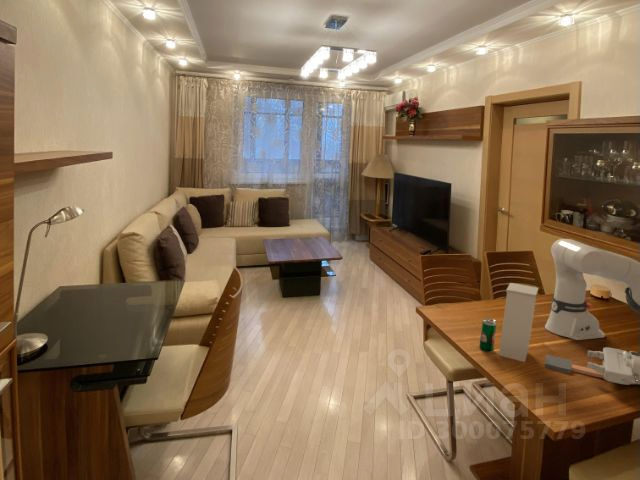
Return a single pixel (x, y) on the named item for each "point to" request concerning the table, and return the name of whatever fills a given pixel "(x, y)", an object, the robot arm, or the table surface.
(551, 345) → the table surface
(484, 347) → the soda can
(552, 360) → the toy hammer
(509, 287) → the tall grey box
